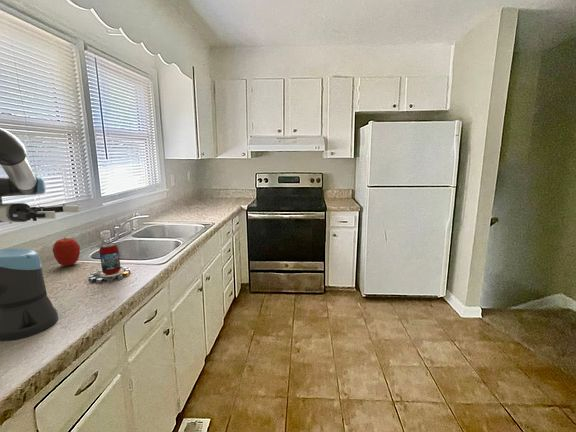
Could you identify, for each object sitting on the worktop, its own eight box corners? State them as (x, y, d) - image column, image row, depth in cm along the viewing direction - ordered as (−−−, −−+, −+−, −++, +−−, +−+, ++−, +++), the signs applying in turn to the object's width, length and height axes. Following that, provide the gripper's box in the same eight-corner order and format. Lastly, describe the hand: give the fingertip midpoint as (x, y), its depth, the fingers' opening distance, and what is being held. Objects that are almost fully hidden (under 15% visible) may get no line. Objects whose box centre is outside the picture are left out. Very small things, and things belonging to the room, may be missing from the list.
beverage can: (102, 276, 128) (98, 248, 126) (102, 271, 134) (98, 244, 132) (121, 273, 132) (117, 245, 129) (120, 268, 137) (117, 241, 135)
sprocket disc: (80, 283, 126) (79, 279, 126) (103, 269, 141) (102, 266, 141) (118, 283, 126) (117, 279, 125) (136, 269, 140) (136, 265, 140)
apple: (57, 270, 141) (51, 240, 139) (54, 265, 149) (49, 236, 146) (84, 265, 148) (79, 236, 145) (79, 260, 155) (75, 232, 153)
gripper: (41, 215, 140) (88, 214, 140) (-13, 229, 116) (44, 227, 115) (38, 199, 139) (86, 198, 138) (-17, 208, 114) (41, 207, 114)
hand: (67, 211), depth 127 cm, fingers open, 13 cm apart
